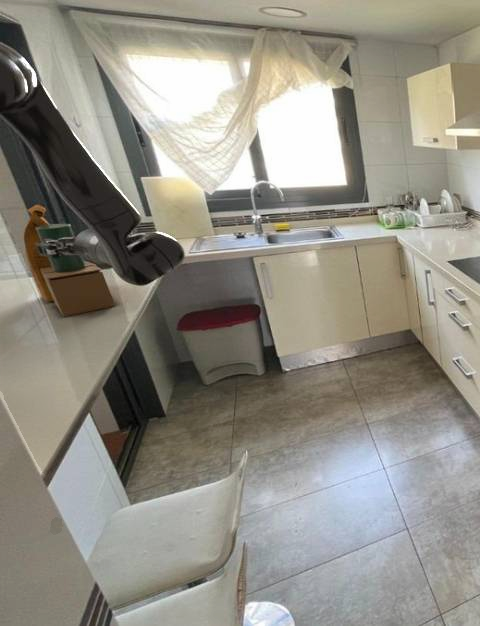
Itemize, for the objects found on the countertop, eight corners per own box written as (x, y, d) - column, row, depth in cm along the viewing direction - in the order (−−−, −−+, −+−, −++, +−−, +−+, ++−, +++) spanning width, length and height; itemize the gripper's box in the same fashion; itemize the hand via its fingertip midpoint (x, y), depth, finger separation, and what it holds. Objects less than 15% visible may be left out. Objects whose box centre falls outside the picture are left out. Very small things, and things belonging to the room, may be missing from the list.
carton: (115, 305, 110) (101, 269, 106) (64, 316, 103) (47, 278, 100) (104, 295, 116) (90, 260, 113) (55, 305, 110) (39, 268, 107)
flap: (101, 270, 106) (100, 269, 106) (47, 279, 100) (47, 278, 100) (96, 266, 110) (95, 265, 109) (44, 275, 103) (43, 273, 103)
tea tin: (53, 274, 103) (34, 229, 99) (55, 268, 107) (36, 225, 103) (86, 269, 106) (69, 226, 102) (87, 264, 110) (70, 222, 106)
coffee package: (98, 283, 125) (65, 202, 116) (96, 295, 116) (60, 208, 108) (45, 292, 119) (7, 206, 110) (39, 304, 110) (-3, 212, 102)
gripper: (145, 223, 96) (110, 217, 103) (52, 236, 84) (19, 228, 91) (157, 258, 99) (122, 249, 106) (68, 275, 87) (35, 264, 94)
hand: (74, 239), depth 99 cm, fingers open, 8 cm apart
